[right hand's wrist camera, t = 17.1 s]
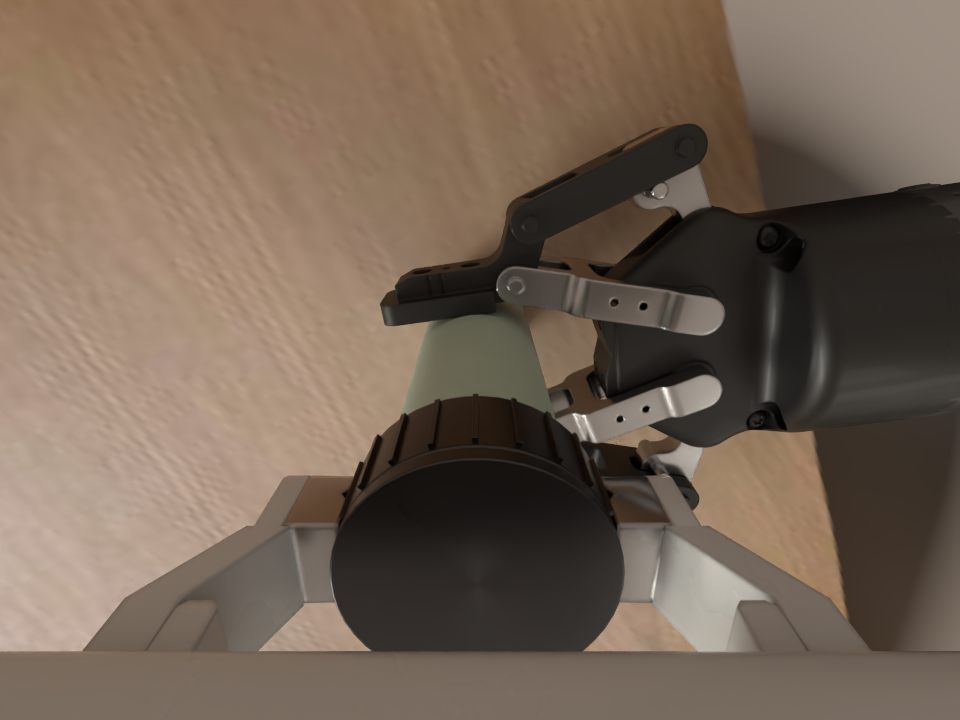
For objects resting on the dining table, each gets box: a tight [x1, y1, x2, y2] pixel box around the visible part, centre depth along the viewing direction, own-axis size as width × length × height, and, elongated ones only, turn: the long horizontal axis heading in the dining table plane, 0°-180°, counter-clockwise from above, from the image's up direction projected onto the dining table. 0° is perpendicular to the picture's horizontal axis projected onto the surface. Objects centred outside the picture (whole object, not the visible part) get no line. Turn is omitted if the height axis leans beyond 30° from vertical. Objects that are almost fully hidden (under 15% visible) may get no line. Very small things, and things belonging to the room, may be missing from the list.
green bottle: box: [401, 302, 556, 420], centre depth 16 cm, size 4×4×15 cm
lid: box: [330, 394, 625, 652], centre depth 10 cm, size 5×5×2 cm
